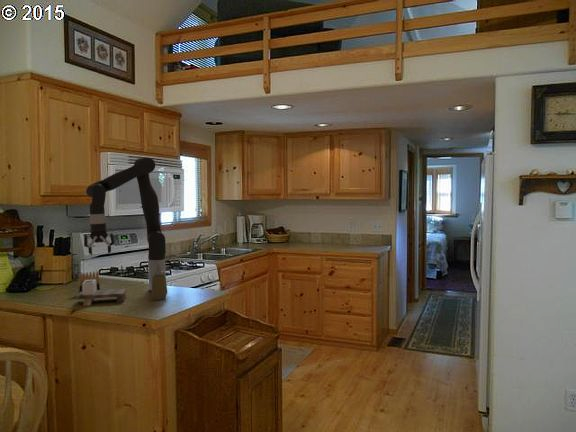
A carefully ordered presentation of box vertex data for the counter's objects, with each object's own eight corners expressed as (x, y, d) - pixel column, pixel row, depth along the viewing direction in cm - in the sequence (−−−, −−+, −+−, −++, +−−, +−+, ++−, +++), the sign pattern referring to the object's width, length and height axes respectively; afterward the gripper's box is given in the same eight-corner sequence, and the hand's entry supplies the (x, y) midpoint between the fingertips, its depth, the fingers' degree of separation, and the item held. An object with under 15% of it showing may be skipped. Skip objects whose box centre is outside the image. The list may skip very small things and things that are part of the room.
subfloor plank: (127, 296, 231) (126, 287, 231) (123, 303, 216) (123, 294, 216) (82, 299, 226) (82, 290, 226) (75, 306, 210) (75, 297, 210)
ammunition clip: (79, 295, 236) (78, 273, 235) (78, 294, 237) (77, 272, 237) (100, 292, 242) (99, 271, 242) (99, 291, 244) (98, 270, 243)
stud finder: (96, 290, 224) (96, 279, 224) (93, 294, 216) (93, 282, 215) (86, 291, 223) (85, 279, 223) (82, 295, 214) (82, 282, 214)
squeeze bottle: (153, 301, 219) (152, 266, 218) (150, 298, 226) (149, 264, 225) (169, 299, 222) (168, 264, 222) (165, 296, 230) (165, 262, 229)
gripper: (113, 221, 230) (115, 251, 231) (84, 223, 226) (86, 254, 227) (112, 222, 223) (114, 253, 224) (81, 224, 219) (84, 256, 220)
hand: (100, 253), depth 225 cm, fingers open, 8 cm apart
